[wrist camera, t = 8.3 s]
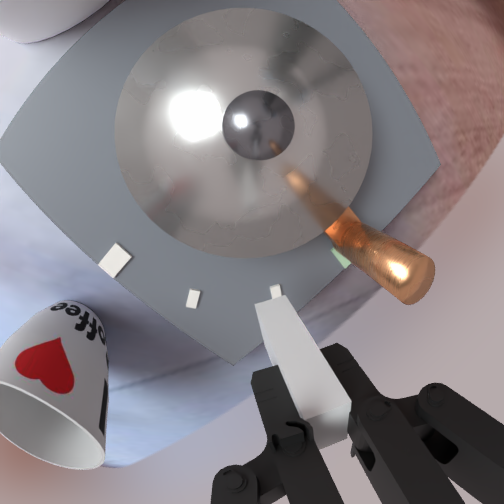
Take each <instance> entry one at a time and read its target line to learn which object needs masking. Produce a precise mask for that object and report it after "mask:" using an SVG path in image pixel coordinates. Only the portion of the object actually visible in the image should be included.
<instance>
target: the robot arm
mask: <svg viewBox="0 0 504 504" xmlns="http://www.w3.org/2000/svg"><path fill="white" fill-rule="evenodd" d="M255 308H256V312H257V316H258V320H259V324H260V328H261V332H262V336H263V340H264V344H265V348H266V350H267V353H268V355H269V358H270V360H271V363H272V365H273V366H272V367H269V368H265V369H262V370H259V371H255V372H253V375H252V380H251V385H252V389H253V392H254V395H255V399H256V402H257V405H258V408H259V412H260V415H261V418H262V421H263V424H264V428H265V431H266V434H267V445H266V447H265V449H264V451H263V452H262V453H261V454H260V455H259V456H258V457H256V458H255V459H253V460H251V461H250V462H248V463H246V464H244V465H243V466H241V465H231V466H227V467H225V468H223V469H221V470H220V471H219V472H218V473H217V474H216V475H215V478H214V480H213V485H212V495H211V504H272V503H273V502H275V501H277V500H278V499H280V498H282V497H283V496H285V495H286V494H287V497H288V500H289V503H290V504H344V502H343V500H342V498H341V496H340V494H339V492H338V490H337V488H336V485H335V483H334V481H333V479H332V477H331V475H330V473H329V471H328V468H327V466H326V464H325V462H324V460H323V458H322V455H321V453H320V451H319V449H322V448H325V447H327V446H330V445H332V444H335V443H337V442H339V441H342V440H344V439H346V438H347V434H349V436H350V438H351V440H352V441H353V444H352V448H351V456H352V457H354V456H355V454H356V456H357V458H358V460H359V462H360V464H361V465H362V467H363V469H364V471H365V473H366V475H367V476H368V478H369V480H370V482H371V484H372V486H373V488H374V490H375V491H376V493H377V495H378V497H379V498H380V501H381V502H382V504H465V502H464V501H463V500H462V498H461V496H460V495H459V493H458V492H457V490H456V489H455V488H454V486H453V485H452V483H451V482H450V480H449V479H448V477H449V478H450V479H451V480H452V481H454V482H455V483H456V484H458V485H459V486H460V487H461V488H463V489H464V490H465V491H467V492H468V493H469V494H470V495H472V496H473V497H474V498H476V499H477V500H478V501H480V502H481V503H482V504H504V425H503V424H502V423H500V422H499V421H497V420H496V419H494V418H493V417H491V416H490V415H488V414H487V413H486V412H484V411H483V410H481V409H480V408H478V407H477V406H475V405H474V404H472V403H471V402H470V401H468V400H467V399H465V398H464V397H462V396H461V395H459V394H458V393H456V392H455V391H453V390H452V389H450V388H449V387H448V386H446V385H444V384H441V383H431V384H428V385H426V386H425V387H423V388H422V390H421V391H420V393H419V394H418V395H414V396H410V397H406V398H401V399H391V398H388V397H385V396H383V395H382V394H380V392H379V391H378V390H377V389H376V388H375V386H374V385H373V383H372V382H371V381H370V379H369V378H368V377H367V375H366V374H365V372H364V371H363V370H362V369H361V367H360V366H359V364H358V363H357V361H356V360H355V359H354V357H353V356H352V355H351V353H350V352H349V350H348V349H347V348H345V347H343V346H342V345H340V344H338V343H335V344H333V345H330V346H327V347H325V348H322V349H319V348H318V346H317V345H316V343H315V341H314V340H313V338H312V337H311V335H310V333H309V332H308V330H307V329H306V327H305V325H304V324H303V322H302V321H301V319H300V317H299V316H298V314H297V313H296V311H295V309H294V308H293V306H292V305H291V303H290V301H289V300H288V298H287V297H286V295H283V296H280V297H277V298H274V299H270V300H267V301H264V302H260V303H257V304H255Z"/></svg>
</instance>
